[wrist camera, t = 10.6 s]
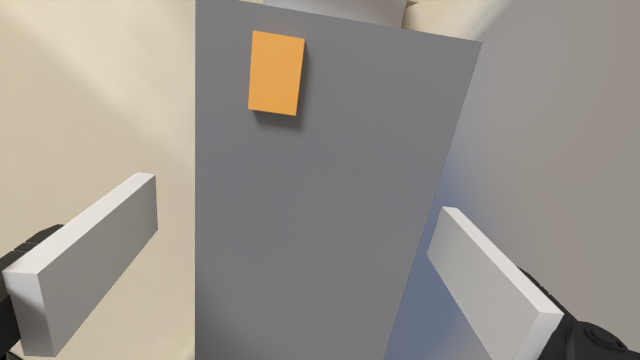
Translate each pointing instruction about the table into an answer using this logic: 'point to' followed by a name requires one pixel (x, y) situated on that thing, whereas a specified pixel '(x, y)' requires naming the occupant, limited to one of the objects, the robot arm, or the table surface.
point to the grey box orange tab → (313, 176)
